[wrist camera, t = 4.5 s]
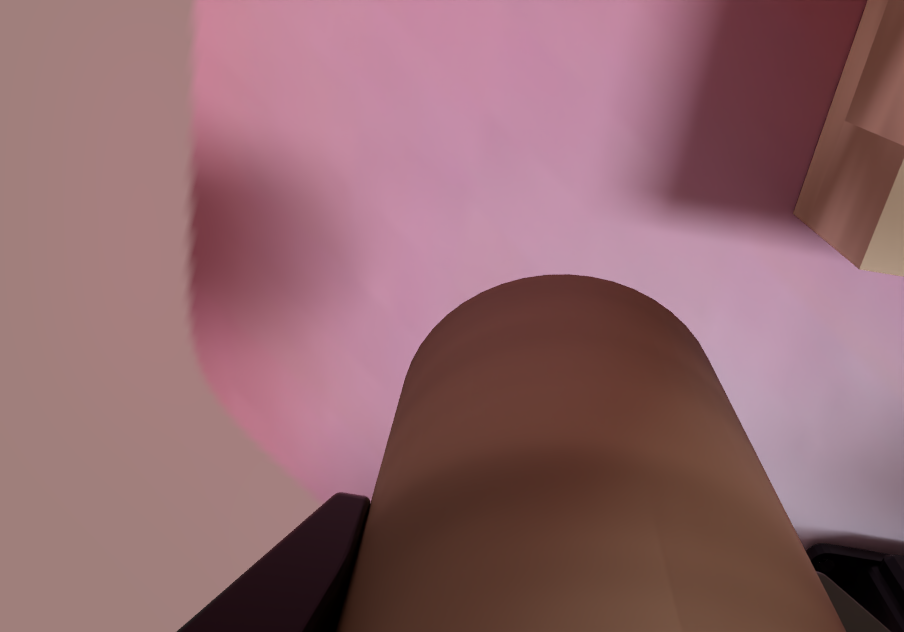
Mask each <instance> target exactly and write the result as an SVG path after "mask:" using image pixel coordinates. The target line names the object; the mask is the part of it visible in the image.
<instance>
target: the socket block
mask: <svg viewBox="0 0 904 632" xmlns="http://www.w3.org/2000/svg"><path fill="white" fill-rule="evenodd" d="M793 214H794V215H795V216H796V217H798V218H799V219H800V220H801V221H802V222H803V223H805V224H806V225H807V226H808V227H809V228H811V229H812V230H813V231H814V232H815V233H817V234H818V235H819V236H820V237H821V238H823V239H824V240H825V241H826V242H827V243H828V244H830V245H831V246H832V247H833V248H834V249H836V250H837V251H838V252H839V253H840V254H842V255H843V256H844V257H845V258H846V259H848V260H849V261H850V262H851V263H852V264H853V265H855V266H856V267H857V268H858V269H860V270H866V271H873V272H879V273H885V274H891V275H897V276H903V277H904V0H868V1H867V4H866V7H865V9H864V12H863V15H862V18H861V21H860V24H859V27H858V29H857V32H856V35H855V38H854V41H853V44H852V47H851V49H850V52H849V55H848V58H847V61H846V64H845V67H844V69H843V72H842V75H841V78H840V81H839V84H838V87H837V89H836V92H835V95H834V98H833V101H832V104H831V107H830V109H829V112H828V115H827V118H826V121H825V124H824V127H823V129H822V132H821V135H820V138H819V141H818V144H817V147H816V149H815V152H814V155H813V158H812V161H811V164H810V167H809V169H808V172H807V175H806V178H805V181H804V184H803V186H802V189H801V192H800V195H799V198H798V201H797V204H796V206H795V209H794V212H793Z"/></svg>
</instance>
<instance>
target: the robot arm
mask: <svg viewBox="0 0 904 632" xmlns="http://www.w3.org/2000/svg"><path fill="white" fill-rule="evenodd" d="M369 508H370V500H369V498H368V497H366V496H361V495H355V494H349V493H343V492H339V493H336V494H335V495H333V496H332V497H331V498H330V499H329V500H328V501H326V502H325V503H324V504H323V505H322V506H321V507H319V508H318V509H317V510H316V511H315V512H314V513H313V514H312V515H310V516H309V517H308V518H307V519H306V520H305V521H303V522H302V523H301V524H300V525H299V526H298V527H296V529H294V530H293V531H292V532H291V533H290V534H288V535H287V536H286V537H285V538H284V539H283V540H282V541H280V542H279V543H278V544H277V545H276V546H275V547H273V548H272V550H270V551H269V552H268V553H267V554H265V555H264V556H263V557H262V558H261V559H260V560H258V561H257V562H256V563H255V564H254V565H253V566H252V567H250V568H249V570H247V571H246V572H245V573H244V574H242V575H241V576H240V577H239V578H238V579H237V580H235V581H234V582H233V583H232V584H231V585H230V586H229V587H228V588H226V589H225V590H224V591H223V592H222V593H221V594H220V595H218V596H217V597H216V598H215V599H214V600H212V601H211V602H210V603H209V604H208V605H207V606H206V607H204V608H203V609H202V610H201V611H200V612H199V613H198V614H196V615H195V616H194V617H193V618H192V619H191V620H190V621H188V622H187V623H186V624H185V625H184V626H183V627H181V628H180V629H179V630H178V631H177V632H335V630H336V626H337V623H338V619H339V616H340V612H341V608H342V605H343V601H344V598H345V594H346V590H347V587H348V584H349V580H350V577H351V573H352V569H353V566H354V562H355V559H356V555H357V551H358V548H359V544H360V540H361V537H362V533H363V530H364V526H365V522H366V519H367V515H368V511H369ZM806 553H807V555H808V557H809V559H810V561H811V563H812V565H813V567H814V569H815V571H816V573H817V575H818V577H819V579H820V581H821V583H822V585H823V587H824V589H825V591H826V593H827V595H828V597H829V599H830V601H831V602H832V604H833V606H834V608H835V610H836V612H837V614H838V616H839V618H840V620H841V622H842V624H843V626H844V628H845V630H846V632H904V556H899V555H890V554H884V553H878V552H872V551H866V550H860V549H854V548H848V547H843V546H837V545H831V544H817V545H814V546H812V547H811V548H809V549H808V550H807V551H806ZM824 559H828V560H827V561H825V562H823V563H819V562H820V561H821V560H824Z"/></svg>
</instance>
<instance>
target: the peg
mask: <svg viewBox="0 0 904 632" xmlns="http://www.w3.org/2000/svg"><path fill="white" fill-rule="evenodd" d="M335 632H846V630H845V628H844V626H843V624H842V622H841V620H840V618H839V616H838V614H837V612H836V610H835V608H834V606H833V604H832V602H831V601H830V599H829V597H828V595H827V593H826V591H825V589H824V587H823V585H822V583H821V581H820V579H819V577H818V575H817V573H816V571H815V569H814V567H813V565H812V563H811V561H810V559H809V557H808V555H807V553H806V551H805V549H804V547H803V545H802V543H801V541H800V539H799V537H798V535H797V533H796V531H795V529H794V527H793V525H792V523H791V521H790V520H789V518H788V516H787V514H786V512H785V510H784V508H783V506H782V504H781V502H780V500H779V498H778V496H777V494H776V492H775V490H774V488H773V486H772V484H771V482H770V480H769V478H768V476H767V474H766V472H765V470H764V468H763V466H762V464H761V462H760V460H759V458H758V456H757V454H756V452H755V450H754V448H753V446H752V444H751V442H750V441H749V439H748V437H747V435H746V433H745V431H744V429H743V427H742V425H741V423H740V421H739V419H738V417H737V415H736V413H735V411H734V409H733V407H732V405H731V403H730V401H729V399H728V397H727V395H726V393H725V391H724V389H723V387H722V385H721V383H720V381H719V379H718V377H717V375H716V373H715V371H714V369H713V367H712V365H711V363H710V361H709V360H708V358H707V356H706V354H705V352H704V351H703V349H702V347H701V345H700V344H699V342H698V340H697V339H696V338H695V337H694V335H693V334H692V333H691V332H690V330H689V329H688V328H687V327H686V325H685V324H683V323H682V322H681V321H680V320H679V319H678V318H677V317H676V316H675V315H674V314H673V313H672V312H671V311H669V310H668V309H666V308H665V307H664V306H662V305H661V304H659V303H658V302H657V301H655V300H654V299H652V298H650V297H648V296H646V295H644V294H642V293H640V292H638V291H636V290H635V289H632V288H629V287H626V286H624V285H621V284H618V283H615V282H612V281H608V280H603V279H599V278H595V277H589V276H579V275H569V274H568V275H542V276H535V277H528V278H522V279H519V280H515V281H511V282H508V283H504V284H501V285H498V286H496V287H494V288H491V289H489V290H486V291H484V292H482V293H480V294H478V295H476V296H474V297H473V298H471V299H469V300H467V301H466V302H464V303H462V304H461V305H460V306H458V307H457V308H456V309H454V310H453V311H452V312H450V313H449V314H448V315H446V316H445V317H444V318H443V319H442V320H441V321H440V322H439V323H438V324H437V325H436V326H435V327H434V328H433V329H432V331H431V332H430V333H429V335H428V336H427V337H426V338H425V340H424V341H423V342H422V344H421V345H420V347H419V349H418V351H417V352H416V354H415V356H414V358H413V360H412V361H411V364H410V367H409V369H408V372H407V375H406V377H405V381H404V384H403V388H402V392H401V395H400V399H399V402H398V406H397V410H396V413H395V417H394V421H393V424H392V428H391V431H390V435H389V439H388V442H387V446H386V449H385V453H384V457H383V460H382V464H381V467H380V471H379V475H378V478H377V482H376V486H375V489H374V493H373V496H372V500H371V504H370V508H369V511H368V515H367V519H366V522H365V526H364V530H363V533H362V537H361V540H360V544H359V548H358V551H357V555H356V559H355V562H354V566H353V569H352V573H351V577H350V580H349V584H348V587H347V590H346V594H345V598H344V601H343V605H342V608H341V612H340V616H339V619H338V623H337V626H336V630H335Z"/></svg>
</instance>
